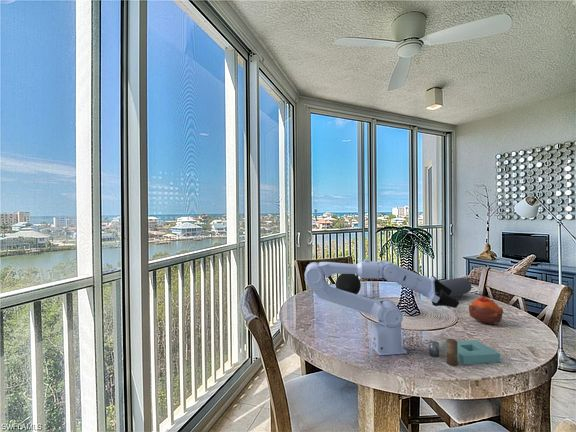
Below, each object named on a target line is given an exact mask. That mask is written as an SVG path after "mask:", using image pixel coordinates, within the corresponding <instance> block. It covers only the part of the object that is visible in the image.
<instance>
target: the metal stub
mask: <svg viewBox="0 0 576 432" xmlns="http://www.w3.org/2000/svg"><path fill="white" fill-rule="evenodd" d="M428 347H429V348H428V353H429V354H428V355H429V356H430V357H432V358H439V357H440V342H438V341H436V340H429V341H428Z"/></svg>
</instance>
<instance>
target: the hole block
mask: <svg viewBox="0 0 576 432" xmlns="http://www.w3.org/2000/svg"><path fill="white" fill-rule="evenodd" d="M456 341H457V348H458V362H459V363H461V364H462V365H475V364H485V363H487V364H488V363H497V362H498V363H499V362H501V353H500V352H499V351H497V350H495V349H493V348H492V347H489V346H487V345H486V344H484V343H482V342H480V341H478V340H476V339H471V340H456ZM442 350H443V351H444V352H445V353H446V341H443V342H442Z"/></svg>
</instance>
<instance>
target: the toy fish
mask: <svg viewBox="0 0 576 432" xmlns="http://www.w3.org/2000/svg"><path fill="white" fill-rule="evenodd" d="M468 313H469V316H470V317H471V318H473V319H475V320H476V321H477V322H481V323H483V324H484V323H485V324H486V323H487V324H489V325H495V324H496V323H497V324H498V323H500V322H501V321H502V318H503V314H504V308H503V307H499V305H498V304H497V303H495V301H494V300H493V299H490V298H488V297H487V296H486V295H481V296H478V297H477V298H476V299H474V301H472V302H471V304H469V305H468Z"/></svg>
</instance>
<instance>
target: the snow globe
mask: <svg viewBox="0 0 576 432" xmlns="http://www.w3.org/2000/svg"><path fill="white" fill-rule="evenodd" d="M361 286H362V284H361V279H360V277H359V276H358V275H357V274H339V275H338V276H337V278H336V281H335V288H337V289H340V290H344V291H347V292H350V293H353V294H357V295H359V293H360V290H361Z"/></svg>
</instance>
